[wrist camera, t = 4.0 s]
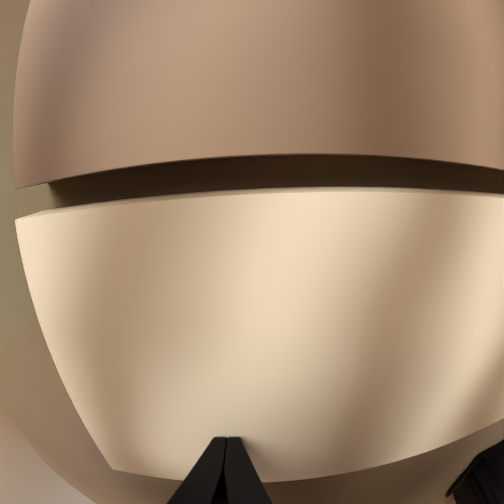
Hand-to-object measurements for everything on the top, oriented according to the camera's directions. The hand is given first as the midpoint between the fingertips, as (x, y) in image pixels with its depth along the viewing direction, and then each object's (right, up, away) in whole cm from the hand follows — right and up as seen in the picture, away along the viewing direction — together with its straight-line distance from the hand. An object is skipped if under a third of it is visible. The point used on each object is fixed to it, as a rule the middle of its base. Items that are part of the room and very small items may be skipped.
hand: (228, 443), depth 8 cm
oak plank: (+5, +3, +1) cm, 6 cm away
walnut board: (+4, +12, -2) cm, 13 cm away
